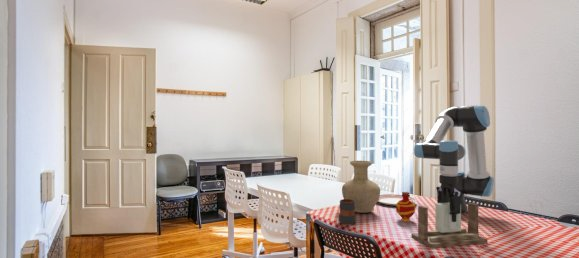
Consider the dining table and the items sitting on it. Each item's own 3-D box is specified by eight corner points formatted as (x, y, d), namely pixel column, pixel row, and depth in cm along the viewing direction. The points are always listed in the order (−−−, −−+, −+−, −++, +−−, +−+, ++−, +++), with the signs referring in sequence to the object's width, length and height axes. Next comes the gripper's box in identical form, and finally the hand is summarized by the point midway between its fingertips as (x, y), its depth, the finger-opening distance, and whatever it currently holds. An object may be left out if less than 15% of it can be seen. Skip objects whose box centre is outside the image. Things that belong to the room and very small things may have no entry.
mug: (357, 219, 177) (357, 198, 177) (353, 225, 166) (353, 203, 166) (342, 218, 180) (342, 197, 180) (337, 224, 169) (337, 201, 169)
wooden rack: (463, 232, 155) (463, 200, 155) (487, 242, 142) (487, 207, 141) (411, 236, 149) (411, 203, 149) (431, 247, 135) (431, 210, 135)
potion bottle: (417, 223, 170) (417, 194, 170) (396, 222, 172) (397, 194, 172) (414, 217, 180) (414, 191, 180) (394, 216, 182) (394, 190, 182)
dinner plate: (411, 210, 198) (411, 204, 198) (368, 204, 212) (368, 199, 212) (420, 201, 221) (420, 196, 221) (380, 197, 236) (380, 192, 236)
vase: (383, 209, 199) (383, 160, 199) (375, 218, 179) (375, 164, 179) (348, 205, 209) (348, 159, 209) (336, 213, 189) (336, 162, 189)
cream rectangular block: (454, 228, 148) (454, 202, 148) (461, 231, 144) (461, 204, 144) (435, 229, 146) (435, 203, 146) (441, 232, 142) (441, 205, 142)
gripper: (428, 172, 153) (428, 222, 153) (455, 178, 136) (455, 233, 136) (442, 172, 154) (442, 221, 154) (470, 177, 138) (470, 232, 138)
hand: (448, 226), depth 145 cm, fingers closed on cream rectangular block, 4 cm apart
